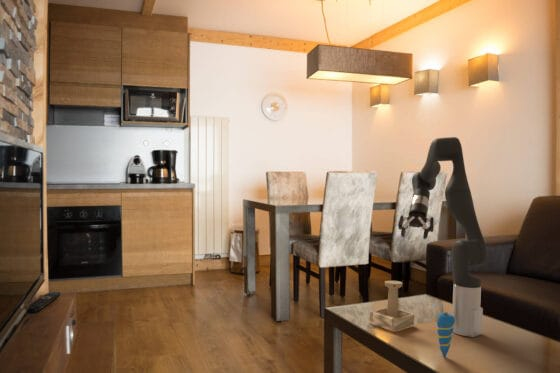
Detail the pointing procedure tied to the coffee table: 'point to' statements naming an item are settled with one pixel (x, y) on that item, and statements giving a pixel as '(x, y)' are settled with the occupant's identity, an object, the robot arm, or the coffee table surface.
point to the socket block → (391, 320)
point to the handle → (393, 297)
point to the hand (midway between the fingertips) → (413, 237)
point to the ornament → (445, 331)
